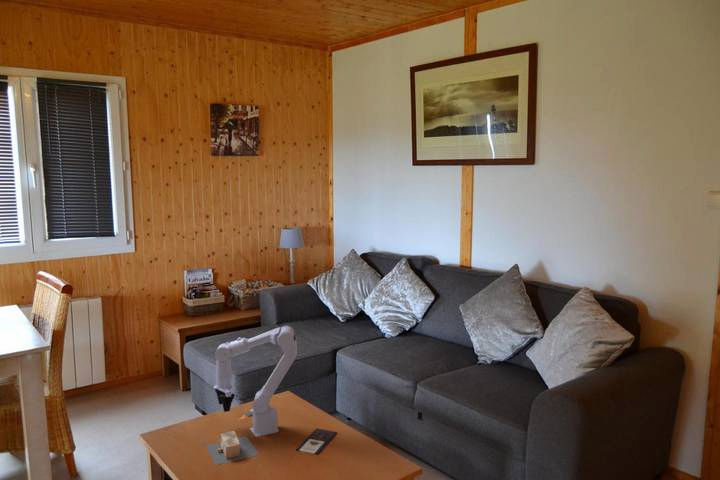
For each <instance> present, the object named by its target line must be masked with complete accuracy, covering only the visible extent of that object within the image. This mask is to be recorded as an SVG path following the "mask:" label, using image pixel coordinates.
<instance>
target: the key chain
mask: <svg viewBox="0 0 720 480" xmlns="http://www.w3.org/2000/svg"><path fill="white" fill-rule="evenodd" d="M248 417H253V408H252V409H250V410H249V411H248V412H246V413H245V414H243V415H242V416H241V417H240V418H238V420H243V419H247V418H248Z"/></svg>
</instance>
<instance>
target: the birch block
mask: <svg viewBox="0 0 720 480" xmlns="http://www.w3.org/2000/svg"><path fill="white" fill-rule="evenodd" d="M238 438H239V437H238V436H237V434H236V431H235V430H231V431H227V432H223V433H222V432H221V433H220V442H221V447H222V449H223V452H224V455H225V457H226V459H227V458H231V457H235V456H240V443H239V441H238Z"/></svg>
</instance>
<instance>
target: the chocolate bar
mask: <svg viewBox="0 0 720 480" xmlns="http://www.w3.org/2000/svg"><path fill="white" fill-rule="evenodd" d="M337 435H338V431H334V430H333V431H332V430H326V429H321V428H315V429H314V430H313V432H311V434H310V435H308V437H306V438H305V440H304V441H303V442H302V443H301V444H299V446H298V447H297V448H296V449H295V451H297V452H301V453H307V454H313V455H316V456H318V455H319V454H320V453H321V452H322V451H323V450H324V449H325V447H326V446H327V445H328V444H329V443H330V442H331V441H332V440H333V438H334V437H336V436H337Z"/></svg>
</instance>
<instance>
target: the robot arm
mask: <svg viewBox="0 0 720 480" xmlns="http://www.w3.org/2000/svg"><path fill="white" fill-rule="evenodd" d="M266 343H267V344H268V343H271V344H273V345H276V346H277V344H278V347H280V349H281V350H282V353H283V355H282V356H281V358H280V360H279V361H278V362H277V365H276V367H275V368H274V369H273V371H272V373H271V375H270V376H269V377H268V379H267V381H266V382H265V384H264V385H263V386H262V388H261V389H259V390H258V391H257V392H256V393H255V396H254V400H253V402H252V405H251V406H252V409H253V415H252V427H250V428H249V430H250V431H251V433H252V434H253V435H254V437H256V438H258V437H262V436H267V435H270V434H275V433H279V431H280V430H279V422H278V421H279V417H278V412H277V409H276V407H272V406H271V405H270V402H271V400H272V398H273V396H274V394H275V392H276V390H277V389H278V387H279V386H280V383H282V380H284V378H285V376H286V374H287V372H288V371H289V369H290V368H291V366H292V364H293V363H294V361H295V360H296V358H297V355H298V345H297V334H296V332H295V329H294V328H293V326H290V325H283V326H281V327H276V328H273V329H271V330H268V331H266V332H263V333H261V334H258V335H256V336H252V337H251V338H246V337H242V338H241V336H240V337H237V339H236V340H232V341H230V342H229V341H227V342H225V343H221V344H219V346H217V348H216V350H215V352H214V357H215V359H216V366H215V368H216V372H215V373H216V377H215V378H216V385H214V386H213V389H214V390H215V392H216V396H217V400H218V404H219V405H222V408H223V409H222V410H223V412H224V413H227V412H230V410H231V406H232V404H233V400H234V398H235V393H232V388H233V384H232V362H231V361H232V360H231V359H232V358H233V357H236V356H239V355H242V354H245V353H247V352H249V351H250V350H251V348H252V347H257V346H260V345H263V344H266Z"/></svg>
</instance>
